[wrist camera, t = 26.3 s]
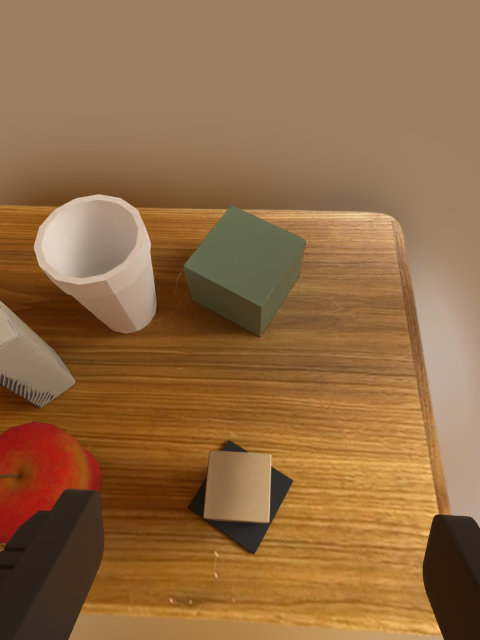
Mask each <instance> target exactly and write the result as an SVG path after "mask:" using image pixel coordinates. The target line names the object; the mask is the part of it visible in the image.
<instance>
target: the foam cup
mask: <svg viewBox="0 0 480 640" xmlns="http://www.w3.org/2000/svg"><path fill="white" fill-rule="evenodd" d="M150 248H151V242H150V239H149V236H148V233H147V230H146V227H145V225H144V223H143V221H142V218H141V216H140V214H139V212H138V210H137V209H136V208H134V207H133V206H131V205H130V204H128V203H127V202H126V201H124V200H122V199H121V198H116V197H110V196H105V195H100V194H99V195H93V196H87V197H81V198H76V199H74V200H72V201H70V202H68V203H66V204H65V205H63V206H61V207H59V208H57V209H55V210H54V211H53V212H52V213H51V214H50V216H49V217H48V218H47V219H46V220H45V221H44V222H43V224H42V225H41V226H40V227H39V230H38V234H37V238H36V241H35V245H34V250H35V253H36V256H37V260H38V263H39V266H40V267H41V269H42V270H43V271H44V272H45V274H46V275H47V276H48V277H49V279H50V280H51V281H52V282H53V283H54V284H56V285H57V286H58V287H59V288H60V289H62V290H63V291H64V292H65V293H66V294H69V295H72V296H73V297H74V298H75V299H76V300H77V301H79V302H80V303H81V304H82V305H83V306H84V307H86V308H87V309H88V310H89V311H90V312H91V313H92V314H94V315H95V316H96V317H97V318H98V319H99V320H101V321H102V322H103V323H104V324H105V325H107V326H108V327H109V328H110V329H111V330H113V331H116V332H120V333H125V334H126V333H131V332H136V331H139V330H141V329H142V328H144V327H145V326H147V325H148V324H149V323H150V322H151V320H152V319H153V317H154V315H155V314H156V306H157V302H156V301H157V298H156V291H155V284H154V277H153V269H152V262H151V255H150Z"/></svg>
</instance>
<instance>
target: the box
mask: <svg viewBox="0 0 480 640" xmlns="http://www.w3.org/2000/svg"><path fill="white" fill-rule="evenodd" d="M74 384H75V380H74V378H73V377H72V375H71V373H70V372H69V370H68V369H67V367H66V366H65V365H64V363H63V362H62V360H61V359H60V357H59V356H58V355H57V353H56V352H55V351H54V349H53V348H51V347H50V346H49V345H48V344H47V343H46V342H45V341H43V340H42V339H41V338H40V337H39V336H38V335H37V334H36V333H35V332H34V331H33V330H32V329H30V328H29V327H28V326H27V325H26V324H25V323H24V322H23V321H22V320H21V319H20V318H19V317H17V316H16V315H15V314H14V313H13V312H12V311H11V310H10V309H9V308H8V307H7V306H6V305H4V304H3V303H2V302H1V301H0V385H1V386H3V387H5V388H6V389H8V390H10V391H12V392H14V393H15V394H17V395H19V396H20V397H22V398H24V399H26V400H27V401H29V402H31V403H33V404H34V405H36V406H38V407H40V408H41V407H43V406H44V405H46V404H47V403H49V402H50V401H52V400H53V399H55V398H56V397H58V396H59V395H60V394H62V393H63V392H65V391H66V390H67V389H68V388H70V387H71V386H72V385H74Z"/></svg>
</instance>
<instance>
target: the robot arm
mask: <svg viewBox="0 0 480 640" xmlns="http://www.w3.org/2000/svg"><path fill="white" fill-rule="evenodd" d="M103 550H104V530H103V520H102V509H101V499H100V494H99V492H98V491H97V490H83V489H65V490H64V491H63V492H62V494H61V495H60V497H59V498H58V500H57V501H56V503H55V504H54V506H53V508H52V509H51V511H46V510H39V511H38V512H37V513H35V514H34V515H33V516H32V517H30V518H29V519H28V520H27V521H25V522H24V523H23V524H22V525H20V526H19V527H18V529H17V530H16V532H15V533H14V534H13V536H12V537H11V539H10V540H9V541H8V543H7V544H6V546H5V549H4V551H1V553H0V640H68V638H69V636H70V634H71V632H72V630H73V627H74V625H75V622H76V620H77V618H78V616H79V613H80V611H81V609H82V606H83V604H84V602H85V599H86V597H87V595H88V592H89V590H90V588H91V585H92V583H93V581H94V578H95V576H96V574H97V571H98V569H99V566H100V563H101V560H102V555H103ZM423 580H424V586H425V590H426V593H427V596H428V599H429V601H430V604H431V607H432V609H433V612H434V615H435V617H436V620H437V622H438V625H439V628H440V630H441V633H442V636H443V638H444V640H480V528H479V526H478V524H477V523H476V522H475V520H474V519H473V518H471V517H468V516H453V515H435V516H434V518H433V521H432V525H431V530H430V534H429V539H428V543H427V548H426V552H425V557H424V561H423Z"/></svg>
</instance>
